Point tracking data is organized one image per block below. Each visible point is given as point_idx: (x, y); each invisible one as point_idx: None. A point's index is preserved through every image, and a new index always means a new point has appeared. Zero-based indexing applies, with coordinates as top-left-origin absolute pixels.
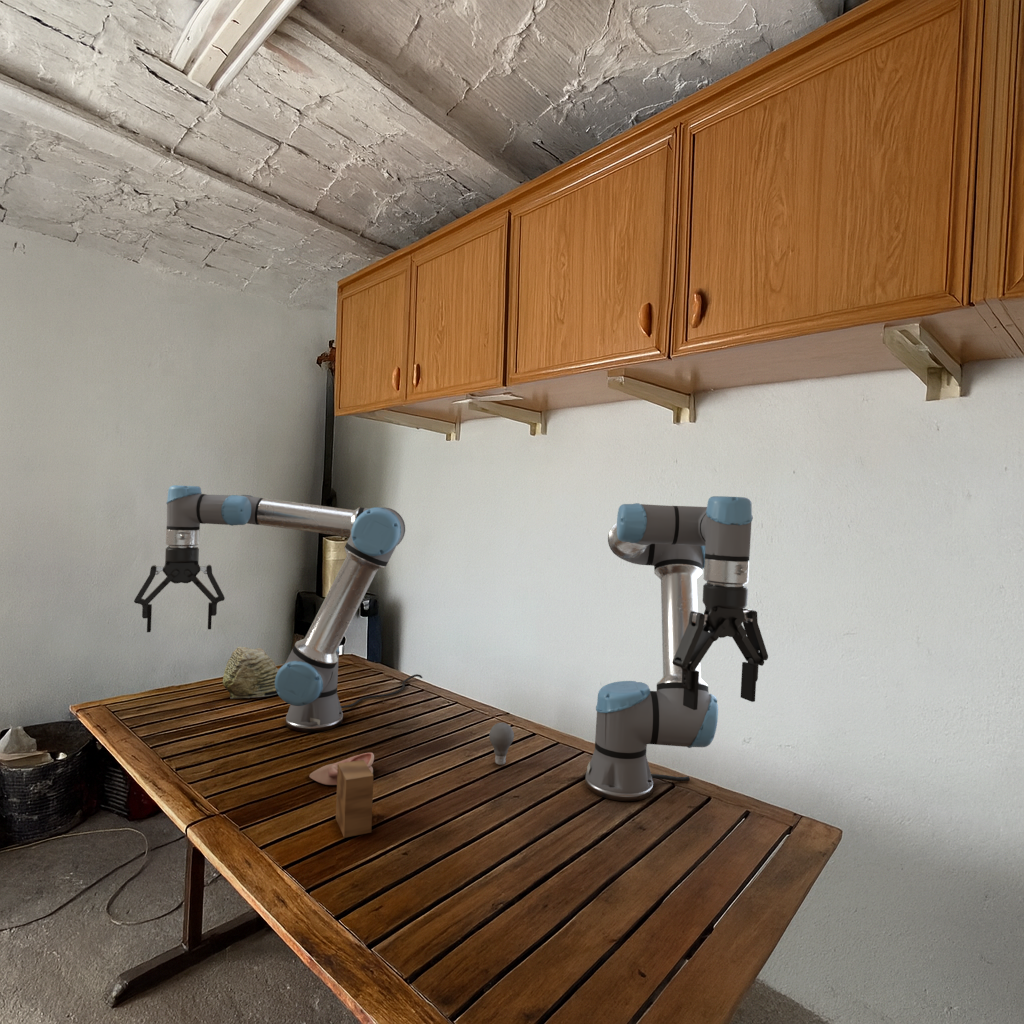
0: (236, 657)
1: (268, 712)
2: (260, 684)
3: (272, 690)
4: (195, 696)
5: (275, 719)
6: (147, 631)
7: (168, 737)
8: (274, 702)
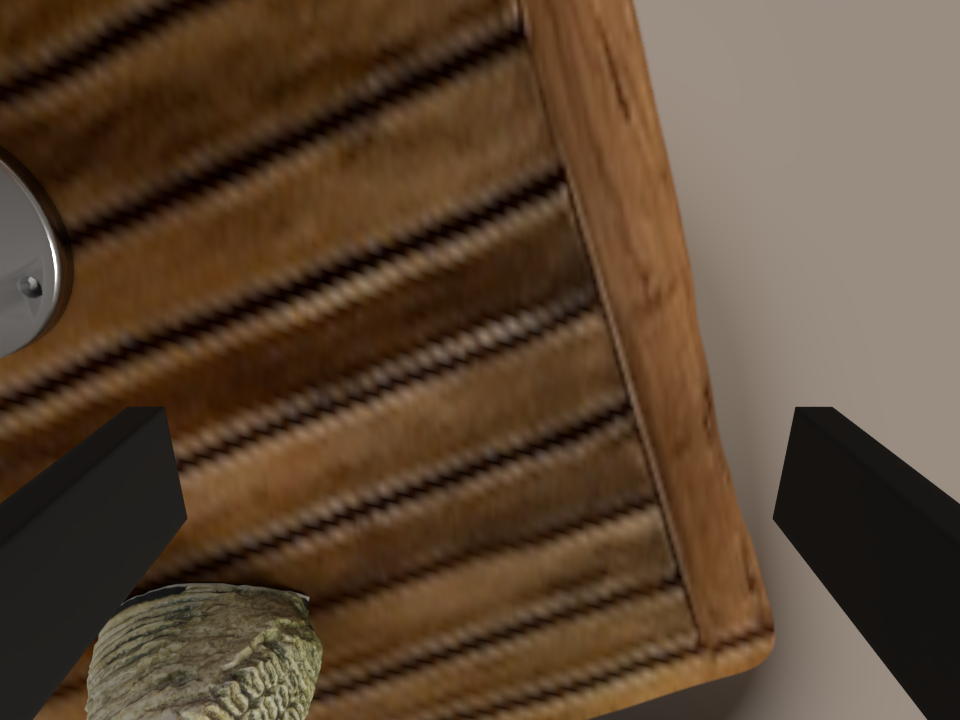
0: None
1: None
2: (180, 618)
3: (150, 603)
4: (427, 651)
5: (123, 334)
6: (831, 410)
7: (506, 267)
8: None
